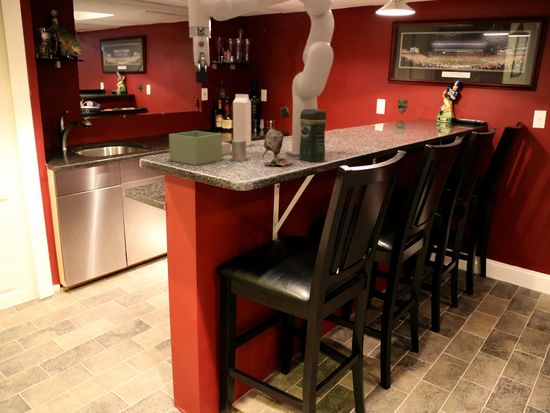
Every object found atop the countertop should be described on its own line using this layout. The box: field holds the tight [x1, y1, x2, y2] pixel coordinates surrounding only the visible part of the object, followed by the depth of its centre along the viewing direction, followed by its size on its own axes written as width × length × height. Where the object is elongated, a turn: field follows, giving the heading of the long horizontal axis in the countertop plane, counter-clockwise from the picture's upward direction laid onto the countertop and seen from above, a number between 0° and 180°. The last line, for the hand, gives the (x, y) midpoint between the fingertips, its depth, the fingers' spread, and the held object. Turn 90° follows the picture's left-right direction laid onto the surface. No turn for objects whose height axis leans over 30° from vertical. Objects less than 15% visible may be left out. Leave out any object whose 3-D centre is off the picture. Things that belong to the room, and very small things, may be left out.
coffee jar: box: [298, 108, 327, 163], centre depth 163 cm, size 10×8×19 cm
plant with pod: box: [261, 106, 293, 167], centre depth 154 cm, size 8×11×20 cm
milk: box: [232, 93, 252, 148], centre depth 194 cm, size 6×6×22 cm
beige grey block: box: [222, 141, 231, 156], centre depth 177 cm, size 5×5×4 cm
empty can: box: [231, 139, 247, 162], centre depth 164 cm, size 5×5×7 cm
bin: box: [168, 130, 223, 166], centre depth 161 cm, size 13×13×10 cm
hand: (201, 82), depth 165 cm, fingers open, 9 cm apart
